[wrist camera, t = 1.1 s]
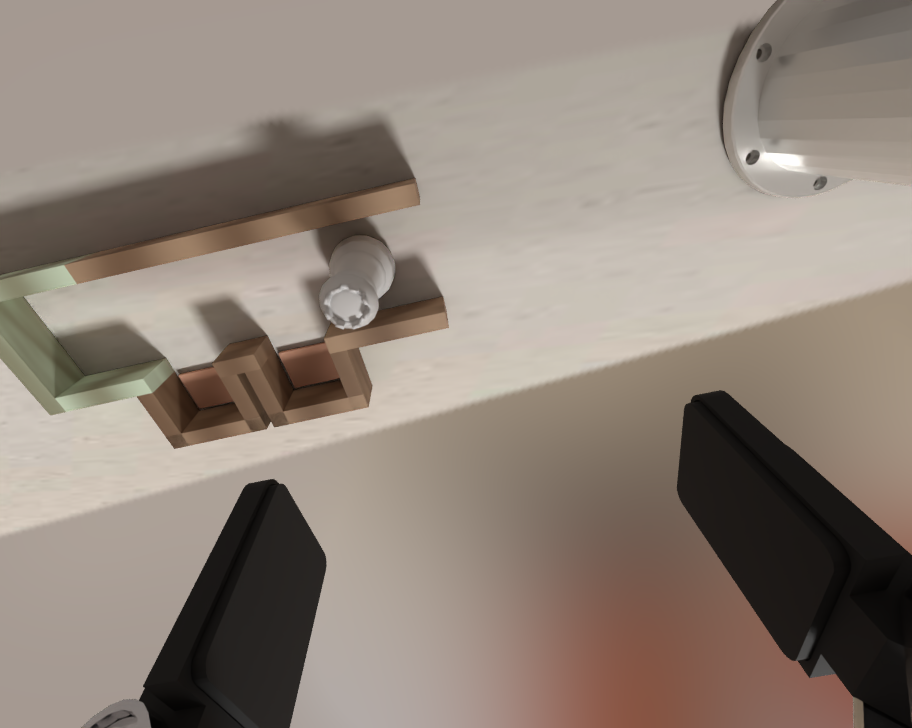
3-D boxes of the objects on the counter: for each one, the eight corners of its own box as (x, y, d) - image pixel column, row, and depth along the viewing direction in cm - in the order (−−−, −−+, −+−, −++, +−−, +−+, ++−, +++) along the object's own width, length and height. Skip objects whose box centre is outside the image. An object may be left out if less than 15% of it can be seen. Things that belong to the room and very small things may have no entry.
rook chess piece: (319, 273, 29) (288, 318, 22) (351, 219, 28) (328, 250, 21) (375, 307, 31) (362, 359, 24) (408, 258, 29) (404, 298, 22)
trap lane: (415, 177, 27) (414, 183, 24) (459, 367, 34) (462, 386, 31) (-12, 277, 28) (-57, 293, 25) (119, 440, 35) (94, 465, 32)
